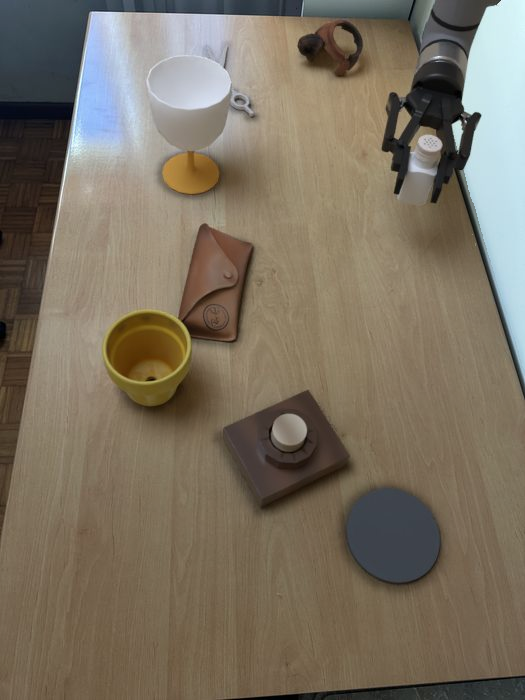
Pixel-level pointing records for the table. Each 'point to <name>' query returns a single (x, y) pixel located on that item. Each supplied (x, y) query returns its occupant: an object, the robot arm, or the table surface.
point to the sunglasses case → (214, 285)
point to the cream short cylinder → (288, 432)
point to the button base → (278, 466)
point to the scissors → (234, 93)
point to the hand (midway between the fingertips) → (417, 190)
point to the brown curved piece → (331, 44)
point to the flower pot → (147, 355)
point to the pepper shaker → (420, 171)
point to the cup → (189, 116)
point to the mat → (392, 535)
